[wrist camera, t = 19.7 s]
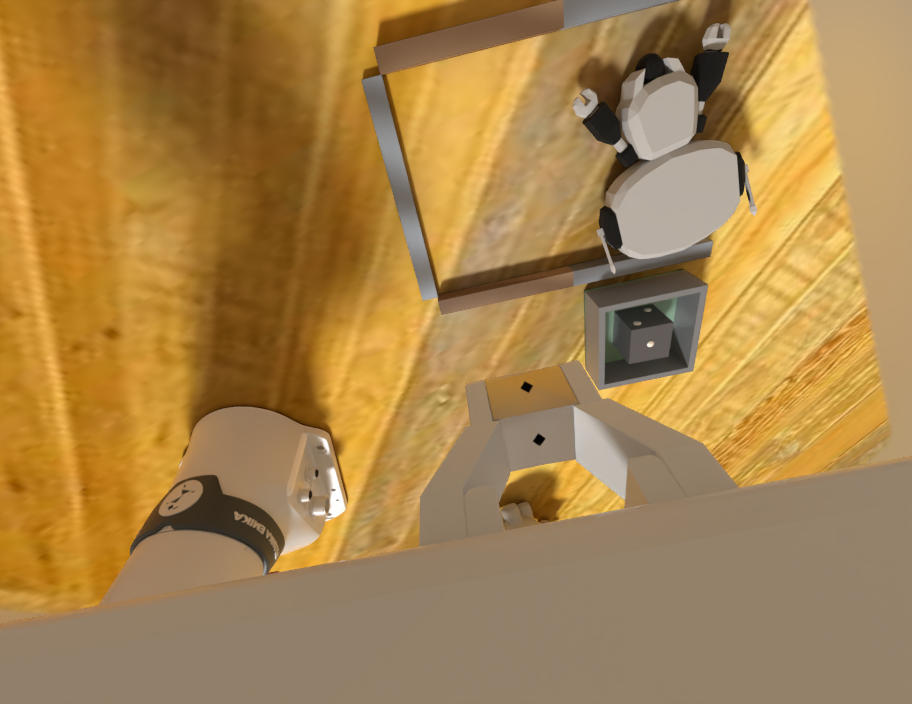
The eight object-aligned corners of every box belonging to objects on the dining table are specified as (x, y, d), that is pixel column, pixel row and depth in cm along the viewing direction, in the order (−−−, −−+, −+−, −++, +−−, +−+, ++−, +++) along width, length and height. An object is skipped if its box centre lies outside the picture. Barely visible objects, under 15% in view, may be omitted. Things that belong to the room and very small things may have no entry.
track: (700, 251, 38) (710, 256, 36) (426, 311, 39) (426, 318, 38) (746, -46, 26) (762, -53, 25) (355, 54, 27) (352, 52, 26)
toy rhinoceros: (523, 519, 64) (548, 573, 59) (476, 523, 56) (500, 585, 51) (554, 497, 61) (584, 551, 56) (509, 497, 53) (539, 561, 48)
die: (649, 336, 42) (669, 356, 39) (612, 343, 42) (628, 364, 39) (653, 303, 40) (674, 322, 36) (614, 310, 40) (631, 330, 37)
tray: (672, 350, 44) (693, 371, 41) (585, 368, 44) (598, 390, 41) (683, 268, 38) (708, 284, 35) (583, 290, 39) (599, 308, 36)
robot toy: (553, 99, 31) (598, 267, 38) (570, 94, 27) (617, 282, 34) (710, 19, 29) (727, 212, 36) (754, 1, 25) (763, 221, 32)
